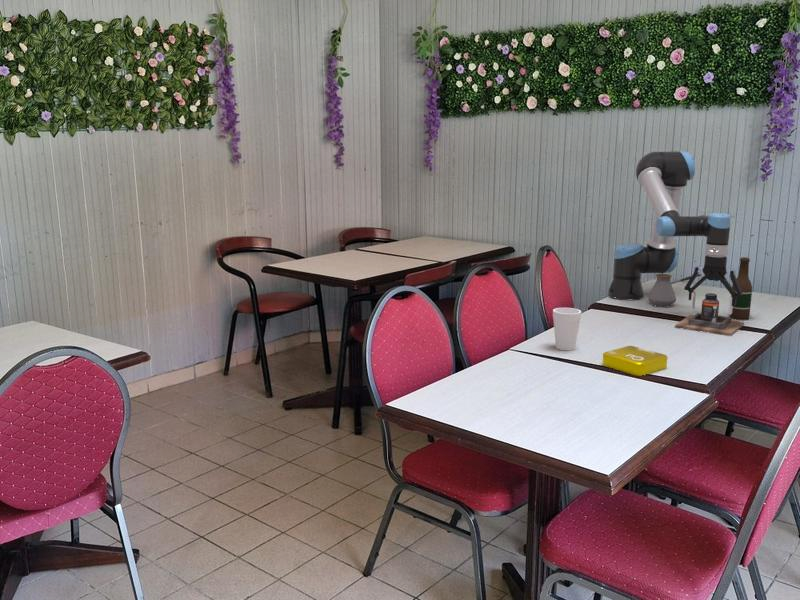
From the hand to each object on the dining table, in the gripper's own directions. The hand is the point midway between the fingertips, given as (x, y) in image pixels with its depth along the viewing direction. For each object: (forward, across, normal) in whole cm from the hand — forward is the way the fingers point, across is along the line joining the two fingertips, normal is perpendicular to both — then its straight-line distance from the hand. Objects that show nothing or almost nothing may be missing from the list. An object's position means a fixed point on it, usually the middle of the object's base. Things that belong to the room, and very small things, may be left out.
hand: (710, 311), depth 282 cm
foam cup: (+6, -32, -59) cm, 67 cm away
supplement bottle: (+5, 0, 0) cm, 5 cm away
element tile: (+6, -6, -65) cm, 66 cm away
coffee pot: (+6, -21, +25) cm, 33 cm away
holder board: (+6, 0, 0) cm, 6 cm away
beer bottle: (+6, +6, +20) cm, 22 cm away
